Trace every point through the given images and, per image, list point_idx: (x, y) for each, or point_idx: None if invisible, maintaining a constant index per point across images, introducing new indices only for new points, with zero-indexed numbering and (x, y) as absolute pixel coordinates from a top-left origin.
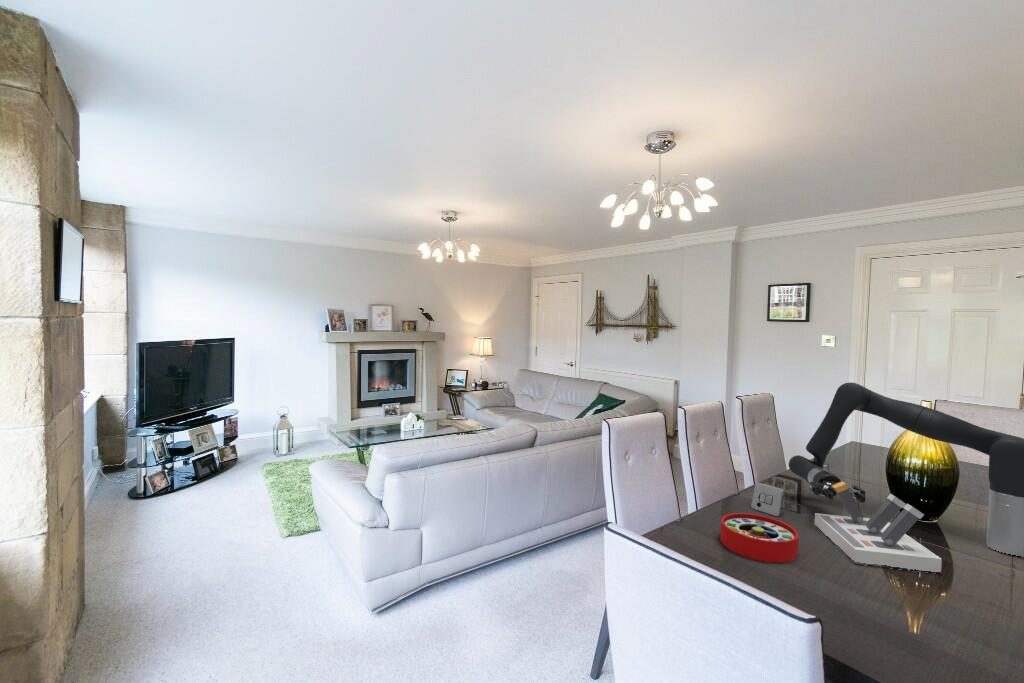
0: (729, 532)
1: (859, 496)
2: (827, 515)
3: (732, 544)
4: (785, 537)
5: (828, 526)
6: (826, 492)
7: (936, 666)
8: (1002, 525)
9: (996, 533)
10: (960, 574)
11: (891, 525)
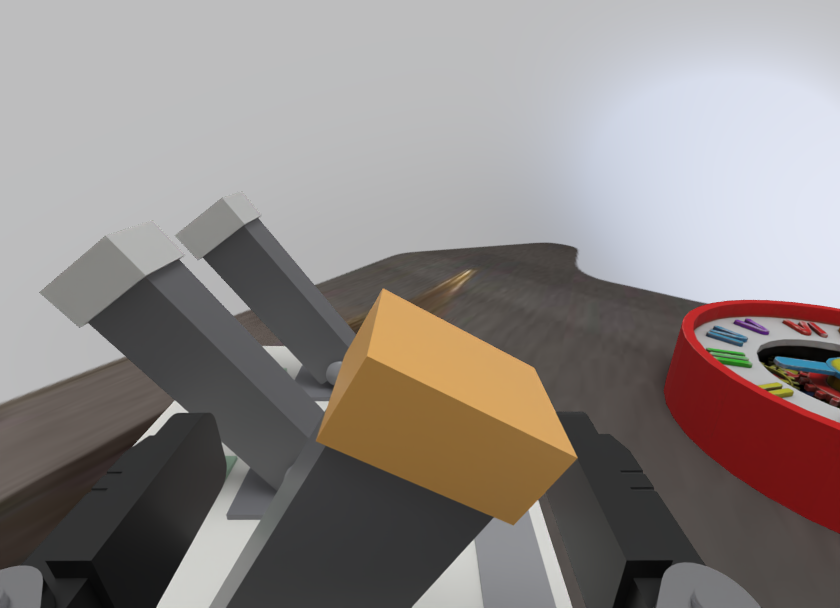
0: None
1: (184, 476)
2: None
3: None
4: (729, 352)
5: (553, 559)
6: (636, 473)
7: (476, 250)
8: None
9: None
10: (161, 400)
11: (319, 304)
